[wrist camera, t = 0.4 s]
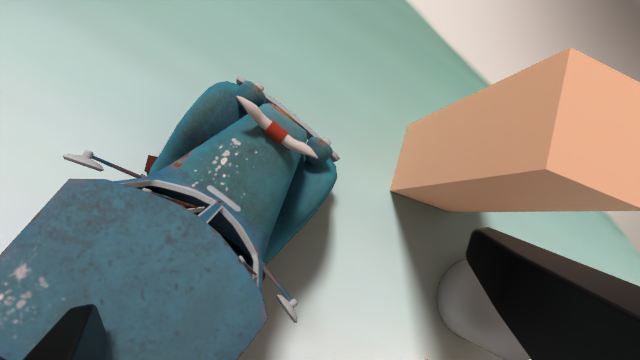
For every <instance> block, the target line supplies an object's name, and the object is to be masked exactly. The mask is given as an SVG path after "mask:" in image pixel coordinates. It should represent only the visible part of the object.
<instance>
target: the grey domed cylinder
mask: <svg viewBox="0 0 640 360" xmlns="http://www.w3.org/2000/svg"><path fill="white" fill-rule="evenodd" d="M437 305H438V310H439V314H440V316H441V319H442V320H443V322H444V324H445V325H446V326H447V328H448V329H449V330H450V331H452V332H453V333H454V334H456V335H458V336H460V337H462V338H464V339H466V340H468V341H470V342H472V343H474V344H476V345H478V346H480V347H481V348H483V349H485V350H487V351H489V352H491V353H493V354H495V355H497V356H499V357H501V358H503V359H505V360H529V359H530V357H529V356H528V354H527V353H526V352H525V350H524V349H523V348H522V346H521V345H520V343H519V342H518V341H517V339H516V338H515V336H514V335H513V334H512V332H511V331H510V330H509V328H508V327H507V325H506V324H505V323H504V321H503V320H502V318H501V317H500V315H499V314H498V313H497V311H496V310H495V308H494V306H493V305H492V303H491V301H490V300H489V298H488V296H487V295H486V293H485V291H484V290H483V288H482V286H481V284H480V283H479V281H478V279H477V278H476V276H475V274H474V273H473V271H472V269H471V268H470V266H469V264H468V262H467V260H466V259H465V260H461V261H459V262H457V263H455V264H454V265H452V266H451V267H450V268H449V269H448V270H447V271H446V273H445V274H444V276H443V277H442V279H441V282H440V284H439V288H438V293H437Z"/></svg>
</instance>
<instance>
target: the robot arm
mask: <svg viewBox="0 0 640 360" xmlns="http://www.w3.org/2000/svg"><path fill="white" fill-rule="evenodd" d="M466 260H467V262H468V264H469V266H470V268H471V269H472V271H473V273H474V274H475V276H476V278H477V279H478V281H479V283H480V284H481V286H482V288H483V290H484V291H485V293H486V295H487V296H488V298H489V300H490V301H491V303H492V305H493V306H494V308H495V310H496V311H497V313H498V314H499V315H500V317H501V318H502V320H503V321H504V323H505V324H506V325H507V327H508V328H509V330H510V331H511V332H512V334H513V335H514V336H515V338H516V339H517V341H518V342H519V343H520V345H521V346H522V348H523V349H524V350H525V352H526V353H527V354H528V356H529V357H530V359H531V360H640V286H637V285H635V284H632V283H629V282H627V281H624V280H622V279H619V278H617V277H614V276H612V275H609V274H606V273H604V272H601V271H599V270H596V269H594V268H591V267H589V266H586V265H584V264H581V263H578V262H576V261H573V260H571V259H568V258H566V257H563V256H561V255H558V254H556V253H553V252H550V251H548V250H545V249H543V248H540V247H538V246H535V245H533V244H530V243H527V242H525V241H522V240H520V239H517V238H515V237H512V236H510V235H507V234H505V233H502V232H499V231H497V230H494V229H492V228H488V227H485V228H480V229H475V230H474V231H473V232H472V233H471V236H470V240H469V243H468V247H467V250H466ZM106 347H107V335H106V330H105V327H104V325H103V322H102V319H101V317H100V314H99V311H98V309H97V307H96V306H95V305H94V304H87V305H81V306H76V307H73V308H71V309H69V310H68V311H67V312H66V313H65V314H64V315H63V316H62V317H61V318H60V319H59V321H58V322H57V323H56V324H55V325H54V326H53V327H52V328H51V329H50V330H49V331H48V332H47V333H46V335H45V336H44V337H43V338H42V339H41V340H40V341H39V342H38V343H37V344H36V345H35V346H34V347H33V349H32V350H31V351H30V352H29V353H28V354H27V355H26V356H25V357H24V358H23V359H22V360H106Z"/></svg>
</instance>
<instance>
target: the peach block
mask: <svg viewBox="0 0 640 360" xmlns="http://www.w3.org/2000/svg"><path fill="white" fill-rule="evenodd" d="M390 191H392V192H395V193H398V194H401V195H404V196H407V197H409V198H412V199H415V200H418V201H421V202H423V203H426V204H429V205H432V206H435V207H437V208H440V209H443V210H446V211H449V212H535V211H640V83H639V82H638V81H636V80H633V79H632V78H630V77H628V76H626V75H624V74H622V73H620V72H618V71H616V70H614V69H612V68H610V67H608V66H606V65H604V64H602V63H600V62H598V61H596V60H594V59H592V58H590V57H588V56H586V55H585V54H583V53H581V52H578V51H577V50H575V49H573V48H568V49H566V50H564V51H562V52H560V53H558V54H556V55H554V56H551V57H549V58H548V59H545V60H543V61H541V62H539V63H537V64H535V65H532V66H531V67H528V68H526V69H524V70H522V71H520V72H518V73H516V74H514V75H512V76H510V77H507V78H505V79H503V80H501V81H499V82H497V83H495V84H493V85H491V86H488V87H486V88H484V89H482V90H480V91H478V92H476V93H474V94H472V95H470V96H468V97H465V98H463V99H461V100H459V101H457V102H455V103H453V104H451V105H449V106H447V107H445V108H442V109H440V110H438V111H436V112H434V113H432V114H430V115H428V116H426V117H424V118H422V119H419V120H417V121H415V122H413V123H411V124H409V125H408V127H407V130H406V134H405V138H404V141H403V145H402V149H401V152H400V156H399V160H398V163H397V167H396V170H395V174H394V178H393V181H392V185H391V189H390Z"/></svg>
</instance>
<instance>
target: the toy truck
mask: <svg viewBox="0 0 640 360" xmlns="http://www.w3.org/2000/svg"><path fill="white" fill-rule="evenodd" d="M263 89H264V87H263V86H262V85H261V84H260V83H257V82H256V83H255V84H254V83H252V82H250V81H247V80H245V79H243V78H242V77H240V76H238V78H237V84H235V83H230V82H228V81H226V82H220V83H216V84H215V85H213V86H211V87H210V88H208V89H207V90H206V91H205V92H204V93H203V94H202V95H201V96H200V97H199V98H198V100H197V101H196V102H195V103H194V104H193V106H192V107H191V108H190V109H189V110H188V111H187V113H186V114H185V115H184V117H183V118H182V120H181V121H180V122H179V124H178V125H177V127H176V128H175V130H174V132H173V133H172V135H171V137H170V138H169V140H168V142H167V144H166V145H165V147H164V149H163V150H162V152H161V154H160V155H159V156H158V157H155V156H150V155H148V159H147V163H146V167H145V172H147V173H149V174H148V176H147V177H146V176H145V175H143V174H141V175H138V174H136V173H133V172H131V171H129V170H126V169H124V168H121V167H119V166H117V165H114V164H112V163H110V162H107V161H105V160H102V159H100V158H98V157H95V156H93V155H94V154H93V152H91V151H88V150H87V151H85V152H84V154H83V156H79V155H72V154H67V155H64V156H63V157H64V159H66V160H69V161H72V162H74V163H77V164H80V165H83V166H86V167H89V168H92V169H95V170H98V171H104V169H103V167H102V166H101V165H100V164H98V163H96V162H95V161H93V160H92V159H94V160H97V161H99V162H101V163H104V164H106V165H108V166H110V167H113V168H115V169H117V170H120V171H122V172H124V173H126V174H129V175H131V176H133V177H135V178H137V179H129V180H121V181H109V180H106V179H69V180H68V181H67V182H66V183H65V184H64V185H63V186H62V187H61V189H60V190H59V191H58V192H57V193H56V194H55V195H54V196H53V197H52V198H51V200H50V201H49V202H48V203H47V204H46V205H45V206H44V207H43V208H42V209H41V211H40V212H39V213H38V214H37V215H36V216H35V217H34V218H33V219H32V220H31V222H30V223H29V224H28V225H27V226H26V227H25V228H24V229H23V230H22V231H21V233H20V234H19V235H18V236H17V237H16V238H15V239H14V240H13V241H12V242H11V244H10V245H9V246H8V247H7V248H6V249H5V250H4V251H3V252H2V253H1V255H0V360H22V359H23V358H24V357H25V356H26V355H27V354H28V353H29V352H30V351H31V350H32V349H33V347H34V346H35V345H36V344H37V343H38V342H39V341H40V340H41V339H42V338H43V337H44V336H45V335H46V333H47V332H48V331H49V330H50V329H51V328H52V327H53V326H54V325H55V324H56V323H57V322H58V321H59V319H60V318H61V317H62V316H63V315H64V314H65V313H66V312H67V311H68V310H69V309H71V308H73V307H76V306H81V305H87V304H94V305H95V306H96V307H97V309H98V311H99V314H100V317H101V319H102V322H103V325H104V327H105V330H106V335H107V347H106V360H238V359H239V358H240V356H241V355H242V353H243V352H244V351H245V349H246V348H247V347H248V345H249V344H250V343H251V341H252V340H253V338H254V337H255V336H256V334H257V333H258V332H259V330H260V329H261V327H262V326H263V325H264V323H265V322H266V321H267V319H268V316H267V312H266V309H265V305H264V302H263V298H262V281H263V280H264V278H265V273H264V271H265V272H266V274H267V275H268V276H269V277H270V278H271V280H272V281H273V282H274V283H275V284H276V285H277V287H278V288H279V289H280V290H281V291H282V293H283V294H284V295H285V296H286V297H287V298H288V300H289V301H288V300H286V299H285V298H284V297H283V296H282V295H277V297H276V298H277V299H278V301H279V302H280V304H281V305H282V306H283V308H284V309H285V311H286V312H287V314H288V315H289V316H290V318H291V319H292V320H293V322H295V323H297V315H296V313H295V311H294V307H295V306H296V305H297V300H296V299H291V298H290V296H289V295H288V294H287V293H286V291H285V290H284V289H283V288H282V286H281V285H280V284H279V283H278V281H277V280H276V279H275V278H274V277H273V275H272V274H271V273H270V272H269V270H268V269H267V268H266V264H265V263H267V262H268V261H270V260H271V259H272V258H274V257H275V256H276V254H277V253H278V252H279V251H280V250H281V249H282V248H283V247H284V245H285V244H286V243H287V242H288V241H289V240H290V239H291V238H292V237H293V236H294V235H295V234H296V233H297V232H298V231H299V230H300V229H301V228H302V227H303V226H304V225H305V224H306V223H307V221H308V220H309V219H310V218H311V217H312V215H313V214H314V213H315V212H316V211H317V209H318V208H319V207H320V205H321V204H322V203H323V201H324V200H325V199H326V197H327V196H328V194H329V193H330V191H331V190H332V188H333V186H334V184H335V182H336V179H337V172H336V166H335V164H334V163H333V162H335V161H338V160H339V159H340V158H339V157H338V156H337V154H336V153H335V152H334V151H333V150H332V148H331V147H330V144H331V142H330V141H329V139H327V138H323V139H321V138H320V137H319V136H318V135H317V134H316V133H315V132H314V131H313V130H312V129H311V128H310V127H308V126H307V125H306V124H305V123H304V122H303V121H301V120H300V119H299V118H298V117H297V116H295V115H294V114H293V113H292V112H290V111H289V110H288V109H287V108H286V107H284V106H283V105H282V104H281V103H279V102H278V101H276V100H275V99H274V98H272V97H271V96H269V95H268V94H266V93H265V92H264V91H263ZM262 104H263V105H262ZM307 139H308V140H309V141H308V142H307V144H306V141H307ZM91 158H92V159H91ZM263 270H264V271H263Z"/></svg>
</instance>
